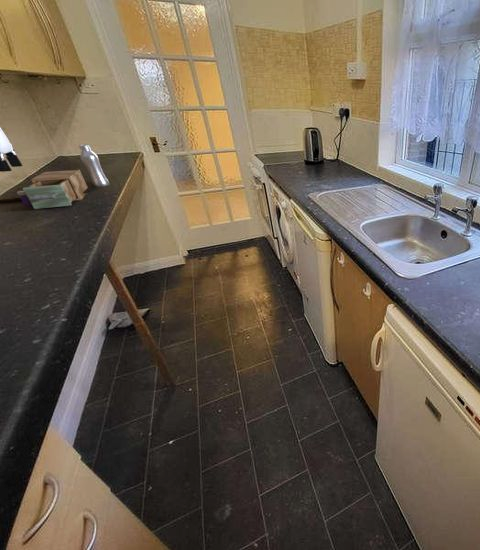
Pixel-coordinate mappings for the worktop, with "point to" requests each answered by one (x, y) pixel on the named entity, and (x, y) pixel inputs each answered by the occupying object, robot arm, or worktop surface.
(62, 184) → the drawer
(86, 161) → the silver metal bottle
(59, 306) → the worktop surface
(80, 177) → the cabinet
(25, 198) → the glue stick
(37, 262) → the worktop surface
